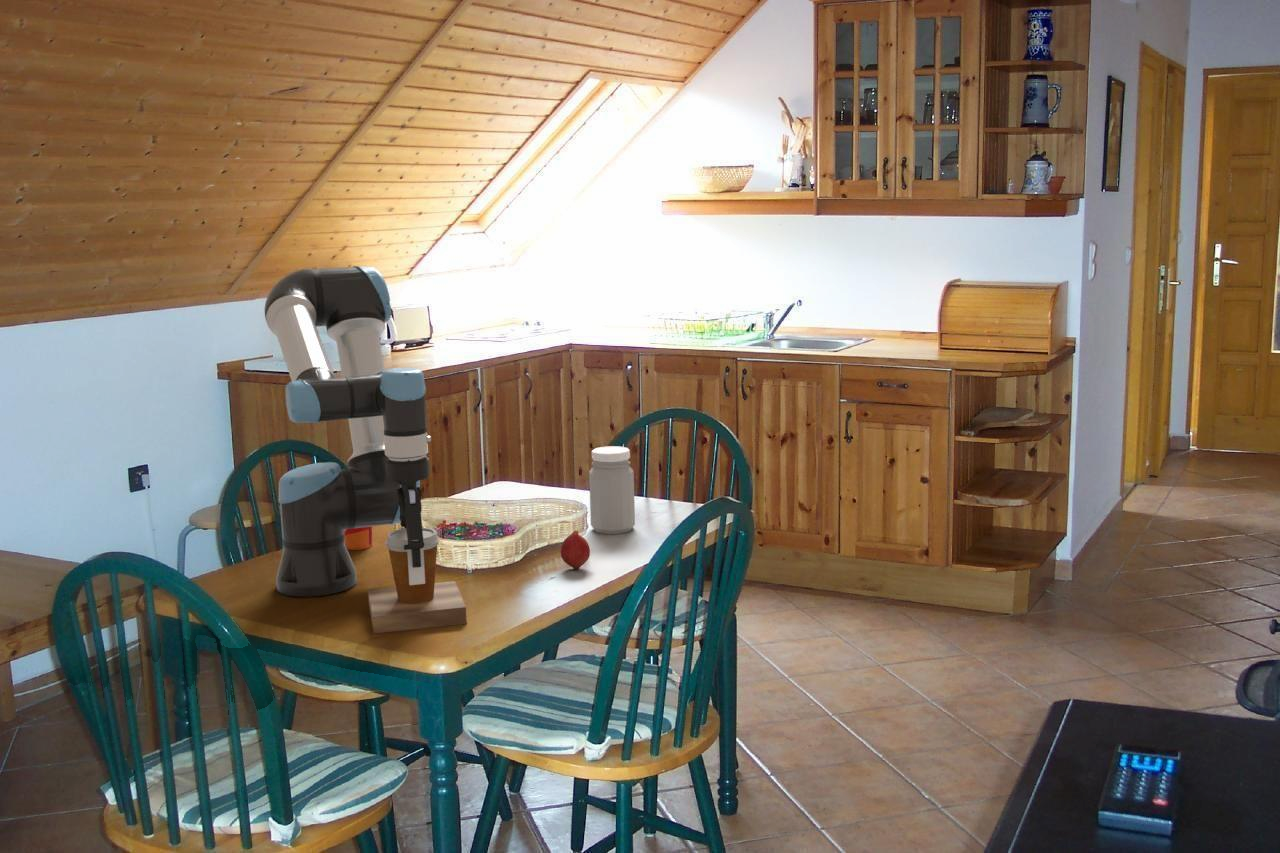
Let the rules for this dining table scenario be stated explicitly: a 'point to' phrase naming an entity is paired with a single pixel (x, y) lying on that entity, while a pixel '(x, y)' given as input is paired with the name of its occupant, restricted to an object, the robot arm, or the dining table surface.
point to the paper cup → (358, 538)
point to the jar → (611, 490)
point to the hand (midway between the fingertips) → (413, 573)
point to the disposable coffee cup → (400, 566)
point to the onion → (575, 550)
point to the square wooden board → (416, 609)
